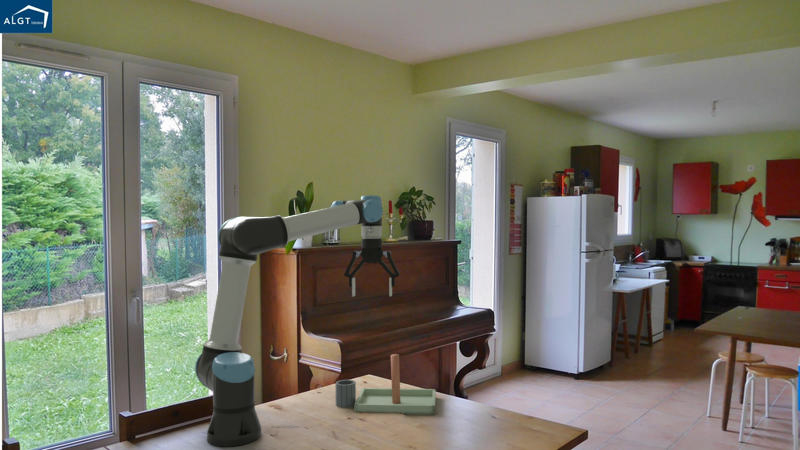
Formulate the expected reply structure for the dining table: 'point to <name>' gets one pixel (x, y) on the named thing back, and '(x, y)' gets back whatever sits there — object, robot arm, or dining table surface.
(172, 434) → the dining table surface
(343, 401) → the cup
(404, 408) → the tray
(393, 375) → the pin
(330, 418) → the dining table surface
